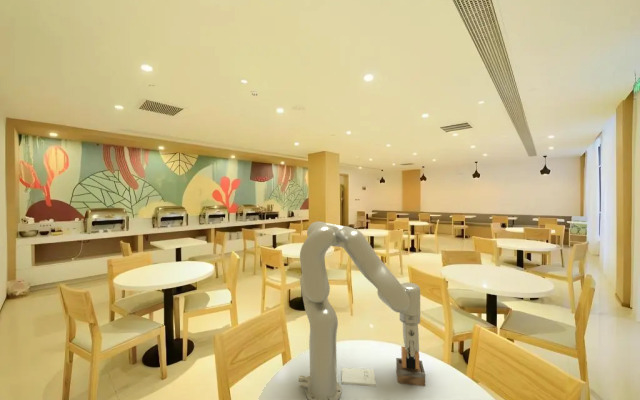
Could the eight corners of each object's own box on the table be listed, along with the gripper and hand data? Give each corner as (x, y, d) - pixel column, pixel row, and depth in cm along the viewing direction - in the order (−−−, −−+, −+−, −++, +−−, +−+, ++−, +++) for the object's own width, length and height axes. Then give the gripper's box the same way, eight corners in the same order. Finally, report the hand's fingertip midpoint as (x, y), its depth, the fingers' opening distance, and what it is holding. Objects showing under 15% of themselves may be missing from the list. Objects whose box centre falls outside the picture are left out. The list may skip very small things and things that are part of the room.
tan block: (402, 367, 102) (402, 352, 102) (401, 360, 107) (401, 346, 107) (419, 369, 101) (419, 354, 101) (417, 361, 106) (417, 347, 105)
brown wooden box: (397, 382, 101) (397, 370, 101) (396, 368, 109) (396, 357, 109) (425, 386, 99) (425, 374, 99) (421, 371, 107) (421, 360, 107)
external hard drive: (342, 371, 109) (373, 373, 108) (341, 385, 101) (375, 387, 100) (342, 367, 109) (373, 368, 108) (341, 381, 101) (375, 383, 99)
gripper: (424, 328, 95) (424, 380, 95) (417, 308, 111) (417, 352, 112) (401, 326, 96) (401, 377, 97) (397, 306, 113) (398, 350, 113)
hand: (410, 363), depth 104 cm, fingers closed on tan block, 4 cm apart
